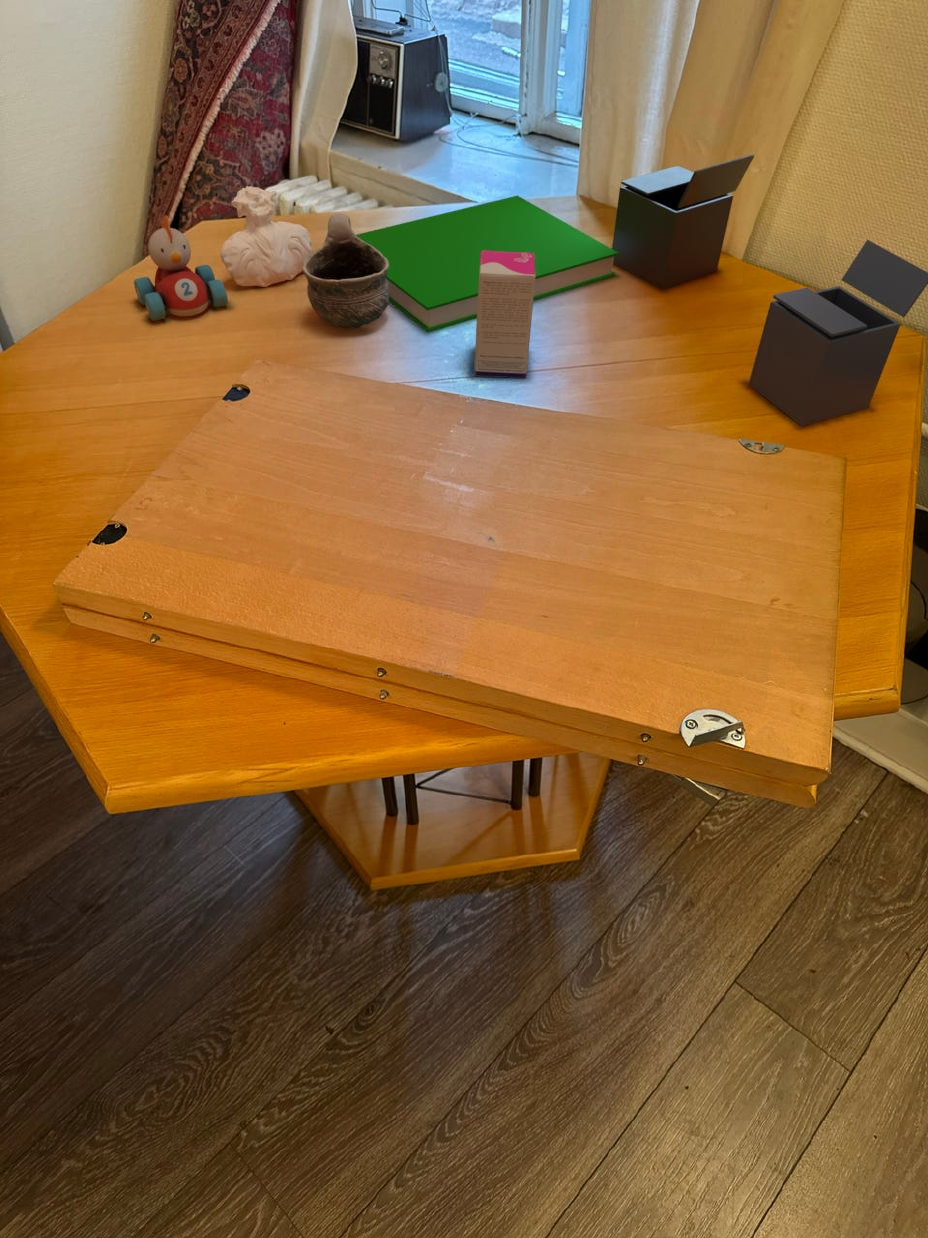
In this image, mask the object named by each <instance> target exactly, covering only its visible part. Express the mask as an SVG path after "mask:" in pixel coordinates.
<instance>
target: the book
mask: <svg viewBox="0 0 928 1238" xmlns="http://www.w3.org/2000/svg"><path fill="white" fill-rule="evenodd" d="M355 235H356V236H357V237H358V238H360V239H361V240H362V241H364V242H366V243H368V244H370V245H371V246H373V247H374V248H376V249H377V250H378V251H379V252H380V253H381V254H382V255H383V256H384V257H385V258H386V259H387V260H388V262H389V268H388V272H387V276H386V280H387V283H388V287H389V301H388V303H390V304H391V305H393V306H394V307H395V308H396V309H398V310H399V311H400V312H401V313H403V314H404V315H405V316H407V318H409V320H412V321H413V322H414V323H415V324H417V326H419V327H420V328H421V329H423V330H424V331H425V332H427V333H431V332H434V331H438V330H441V329H444V328H447V327H450V326H455V325H457V324H462V323H464V322H467V321H471V320H474V319H477V307H478V289H479V271H480V255H481V251H483V250H484V251H499V252H521V253H534V256H535V286H534V298H533V302H534V301H536V300H540V299H544V298H547V297H551V296H554V295H557V294H560V293H564V292H567V291H569V290H573V289H576V288H579V287H584V286H586V285H590V284H594V283H597V282H600V281H603V280H606V279H609V278H613V277H615V276H616V272H614V271H613V269H614V268H613V267H614V263H613V262H614V256H617V255H618V252H616V251H615V250H613V249H612V247H609V246H608V245H606V244H604V243H602V242H601V241H599V240H597V239H595V238H593V237H592V236H590V235H589V234H586V233H585V232H583V231H581V230H580V229H577V227H574V226H572V225H571V224H569V223H567V222H566V221H563V220H562V219H560V218H559V217H556V216H554V215H553V214H551V213H550V212H547V211H546V210H544V209H542V208H540V207H539V206H538V205H535V204H533V203H531V202H530V201H528V200H527V199H525V198H523V197H521V196H519V195H514V196H509V197H506V198H501V199H497V200H494V201H493V200H492V201H489V202H484V203H481V204H480V203H479V204H476V205H471V206H469V207H464V208H460V209H457V210H456V209H455V210H452V211H447V212H444V213H440V214H436V215H431V216H428V217H427V216H426V217H423V218H419V219H415V220H410V221H407V222H403V223H398V224H395V225H390V226H386V227H381V228H378V229H374V230H369V231H366V232H362V233H361V232H360V233H357V234H355Z"/></svg>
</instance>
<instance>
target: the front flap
mask: <svg viewBox="0 0 928 1238" xmlns="http://www.w3.org/2000/svg"><path fill="white" fill-rule="evenodd" d="M840 281H841V282H844V283H845V284H847V285H849V286H850V287H852V288H854V289H855V290H857V291H859V292H860V293H862V294H864V295H866V296H867V297H869V298H870V299H872V300H874V301H875V302H876V303H879V304H880V305H881V306H883V307H885V308H886V309H889V310H890V311H892V312H894V313H895V314H896V315H899V316H900V317H902V318H906V316H907V314H908V313H909V312H910V310H911V309H912V307H913V306H914V305H915V303H916V302H917V300H918V299H919V297H920V296H921V294H922V293H923V292H924V290H925V289H926V287H927V286H928V271H927V270H924V269H923V268H920V267H919V266H917V265H915V264H913V263H912V262H910V261H908V260H906V259H904V258H902V257H901V256H898V255H897V254H895V253H894V252H891V251H890V250H888V249H886V248H884V247H883V246H881V245H879V244H877V243H875V242H873V241H871V240H869V239H866V240H865V243H864V244H863V245H862V247H861V249H860V250H859V251H858V253H857V255H856V256H855V257H854V259H853V261H852V262H851V264H850V265H849V267H848V269H847V270H846V272H845V274H844V275H843V276H842V277H841V280H840Z"/></svg>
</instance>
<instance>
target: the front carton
mask: <svg viewBox="0 0 928 1238" xmlns="http://www.w3.org/2000/svg"><path fill="white" fill-rule="evenodd" d="M772 298H773V299H774V300H772V301H770V303H769V308H768V310H767V315H766V319H765V322H764V324H763V329H762V333H761V336H760V340H759V344H758V347H757V351H756V354H755V358H754V363H753V366H752V369H751V373H750V376H749V380H748V383H747V384H748V386H749V387H751V388H752V389H753V390H755V391H756V392H757V393H758V394H759V395H761V396H762V397H763V398H765V399H766V400H767V401H769V403H771V404H772V405H774V406H775V407H776V408H777V409H778V410H780V411H781V412H783V413H784V414H785V415H786V416H788V417H789V418H790V419H791V420H793V421H794V422H795V423H797V424H798V425H799V426H800V427H806V426H808V425H813V424H816V423H820V422H823V421H826V420H831V419H833V418H838V417H841V416H845V415H847V414H852V413H855V412H858V411H862V410H865V409H868V408H870V404H871V402H872V400H873V397H874V394H875V393H876V390H877V387H878V384H879V383H880V382H879V381H880V379H881V376H882V374H883V372H884V369H885V366H886V364H887V361H888V359H889V356H890V354H891V351H892V348H893V346H894V343H895V340H896V338H897V336H898V333H899V331H900V329H901V325H902V323H900V322H899V321H897V320H896V319H894V318H892V317H891V316H889V315H887V314H886V313H884V312H883V311H881V310H879V309H877V308H876V307H874V306H872V305H871V304H870V303H868V302H866V301H864V300H863V299H861V298H860V297H858V296H856V295H855V294H853V293H852V292H850V291H848V290H846V289H845V288H843V287H842V286H840V285H838V286H833V287H830V288H825V289H820V290H816V291H813V290H812V289H811V288H810V287H802V288H798V289H793V290H790V291H784V292H781V293H776V294H773V296H772Z"/></svg>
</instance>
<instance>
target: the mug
mask: <svg viewBox="0 0 928 1238" xmlns="http://www.w3.org/2000/svg"><path fill="white" fill-rule="evenodd" d="M356 235H357V234H356V233H355V232H354V230H353V229H352V225H351V218H350V217H349V215H348V214H345V213H335V214H332V215H330V216H329V218H328V221H327V233H326V236H325V239H324V242H323V245H321V246H320V247H319V248H316V249H315V250H312V252H311V253H310V254H309V255H308V256H307V257H306V259H305V260H304V262H303V267H302V270H303V271H302V274H304V276H305V278H306V280H307V287H306V289H307V298H308V302H309V303H310V305H311V307H312V309H313V310H314V312H315V314H316V315H318V317H319V318H320V319H322V321H324V322H325V323H328V324H330V325H333V326H336V327H339V328H347V329H348V328H349V329H350V328H351V329H357V328H361V327H362V326H363V327H364V326H367V325H369V324H371V323H372V322H374V321H376V320H378V319H380V317H381V316H383V314H384V313H385V311H386V310H387V307H388V305H389V287H388V283H387V280H386V276H387V272H388V268H389V262H388V260H387V259H386V258H385V257H384V256H383V255H382V254H381V253H380V252H379V251H378V250H377V249H376V248H374V247H373V246H371V245H370V244H368V243H366V242H364V241H362V240H361V239H360V238H358V237H357V236H356Z"/></svg>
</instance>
